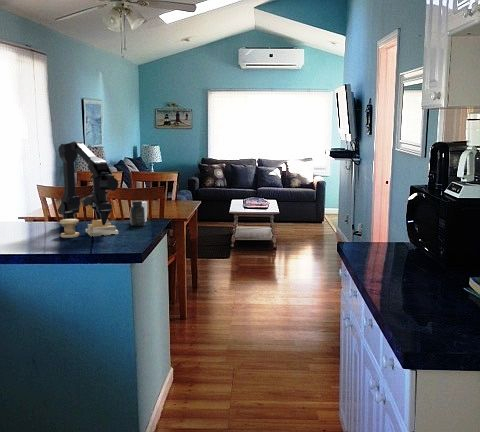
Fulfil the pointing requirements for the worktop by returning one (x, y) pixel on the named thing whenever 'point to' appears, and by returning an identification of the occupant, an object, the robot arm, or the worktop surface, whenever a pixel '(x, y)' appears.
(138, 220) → the supplement bottle
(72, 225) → the bobbin
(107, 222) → the tan rectangular block
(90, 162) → the robot arm
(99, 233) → the notched board
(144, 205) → the white cup
